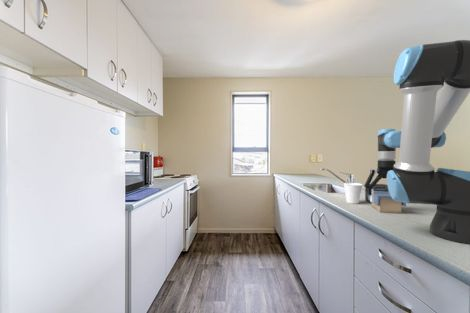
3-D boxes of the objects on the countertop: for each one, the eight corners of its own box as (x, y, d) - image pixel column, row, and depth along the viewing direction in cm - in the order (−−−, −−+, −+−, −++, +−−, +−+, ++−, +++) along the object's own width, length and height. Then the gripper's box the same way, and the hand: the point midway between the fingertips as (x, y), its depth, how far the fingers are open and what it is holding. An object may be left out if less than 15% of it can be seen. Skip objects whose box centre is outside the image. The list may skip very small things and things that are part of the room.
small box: (383, 201, 136) (383, 183, 136) (389, 203, 129) (389, 185, 129) (364, 200, 137) (364, 183, 137) (369, 203, 130) (370, 184, 130)
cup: (366, 204, 127) (366, 184, 127) (351, 205, 124) (352, 185, 124) (353, 200, 137) (353, 182, 136) (339, 201, 134) (339, 183, 134)
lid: (406, 206, 107) (406, 196, 107) (377, 205, 110) (377, 195, 110) (393, 200, 120) (393, 191, 120) (368, 199, 123) (368, 190, 123)
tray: (401, 213, 108) (401, 198, 108) (380, 212, 110) (380, 197, 110) (390, 207, 120) (391, 194, 120) (371, 206, 122) (371, 193, 122)
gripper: (410, 159, 115) (409, 202, 116) (357, 159, 121) (357, 199, 122) (418, 160, 108) (417, 205, 108) (361, 159, 114) (361, 202, 114)
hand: (385, 202), depth 115 cm, fingers closed on lid, 12 cm apart
